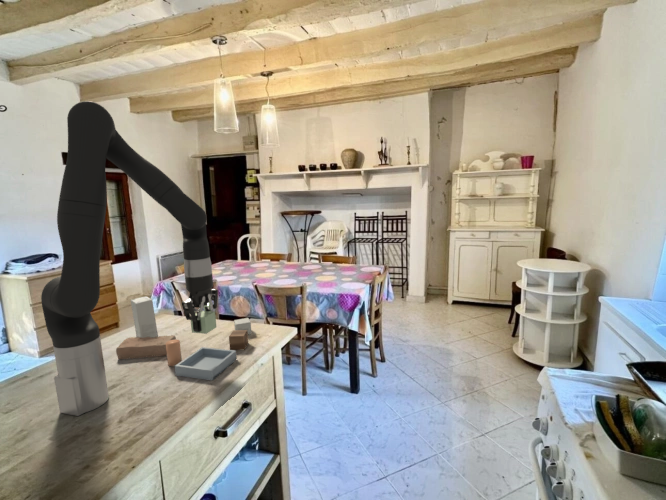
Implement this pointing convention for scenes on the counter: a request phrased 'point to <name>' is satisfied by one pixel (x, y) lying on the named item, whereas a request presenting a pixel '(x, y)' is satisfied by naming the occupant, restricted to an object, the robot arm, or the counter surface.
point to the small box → (243, 324)
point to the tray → (205, 363)
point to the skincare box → (144, 317)
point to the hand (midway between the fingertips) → (203, 327)
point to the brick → (143, 347)
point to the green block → (206, 322)
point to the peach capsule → (173, 352)
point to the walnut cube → (238, 339)
